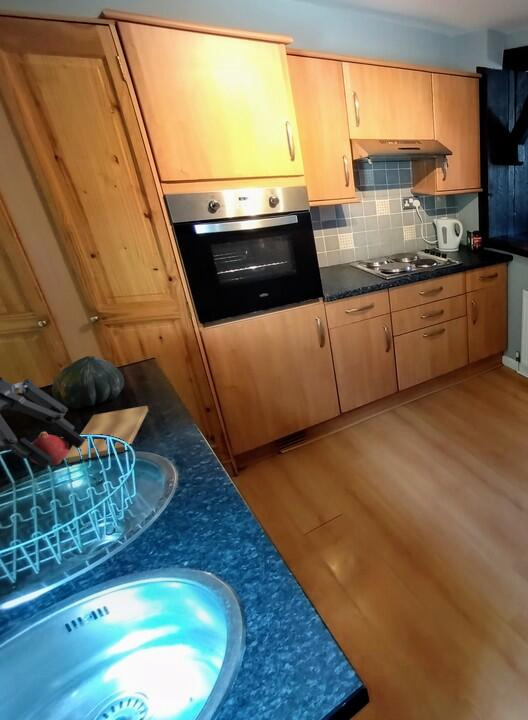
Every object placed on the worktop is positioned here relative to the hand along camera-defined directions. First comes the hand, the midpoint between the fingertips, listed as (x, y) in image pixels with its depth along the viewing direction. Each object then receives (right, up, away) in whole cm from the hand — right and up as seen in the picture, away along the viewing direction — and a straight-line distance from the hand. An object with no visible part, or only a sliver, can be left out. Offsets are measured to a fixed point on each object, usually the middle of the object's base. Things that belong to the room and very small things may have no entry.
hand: (65, 453), depth 92 cm
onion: (-4, -3, +2) cm, 5 cm away
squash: (-32, +5, +41) cm, 52 cm away
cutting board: (-14, -2, +26) cm, 30 cm away
